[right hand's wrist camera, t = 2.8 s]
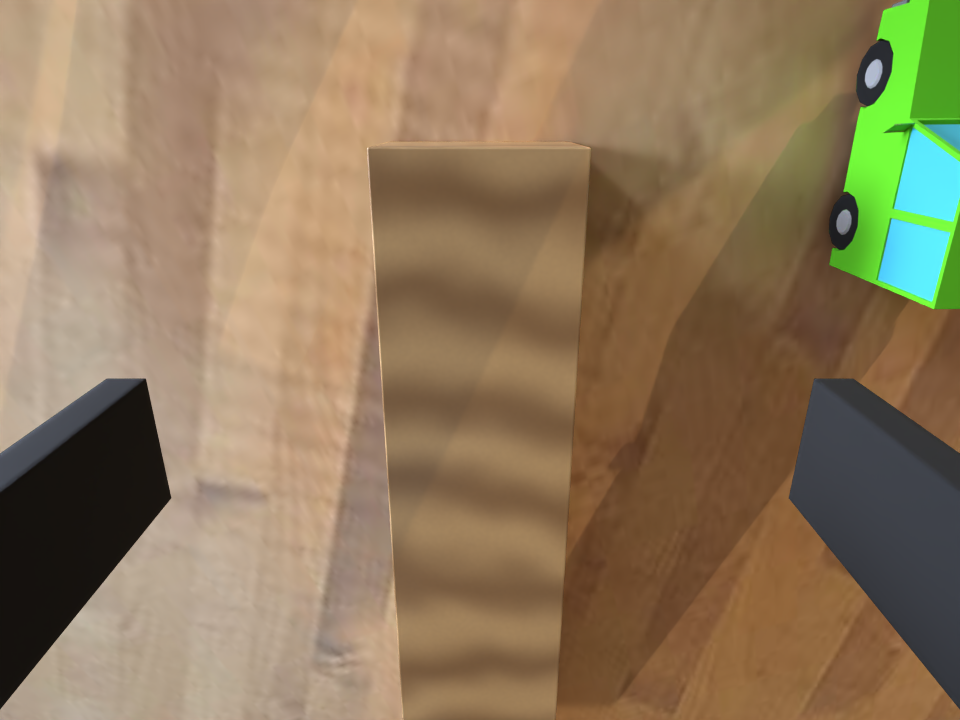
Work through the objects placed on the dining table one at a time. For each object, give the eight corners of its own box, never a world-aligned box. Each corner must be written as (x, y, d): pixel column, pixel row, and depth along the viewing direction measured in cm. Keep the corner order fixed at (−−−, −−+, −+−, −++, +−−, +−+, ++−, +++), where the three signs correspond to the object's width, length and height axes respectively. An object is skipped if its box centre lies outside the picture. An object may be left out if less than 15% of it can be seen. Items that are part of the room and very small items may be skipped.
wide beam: (388, 141, 34) (366, 147, 28) (569, 141, 34) (591, 147, 28) (427, 918, 61) (421, 1018, 54) (530, 918, 61) (537, 1018, 54)
